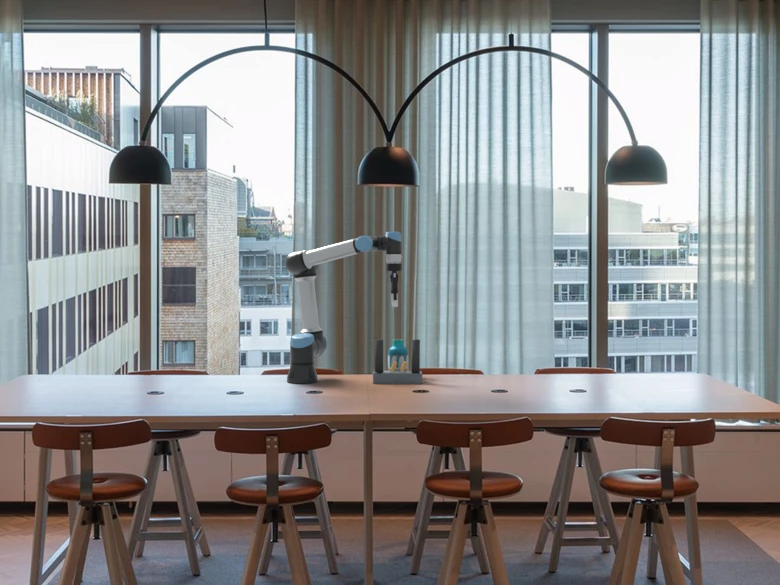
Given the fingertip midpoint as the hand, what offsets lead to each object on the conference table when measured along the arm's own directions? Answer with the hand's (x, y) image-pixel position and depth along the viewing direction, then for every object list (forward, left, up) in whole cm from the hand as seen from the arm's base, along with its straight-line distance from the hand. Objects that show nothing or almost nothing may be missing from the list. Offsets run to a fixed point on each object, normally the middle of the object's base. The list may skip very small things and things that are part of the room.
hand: (394, 306), depth 467 cm
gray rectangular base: (+1, -1, -38) cm, 38 cm away
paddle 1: (-2, -1, -32) cm, 32 cm away
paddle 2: (+3, -1, -32) cm, 32 cm away
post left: (-8, -1, -33) cm, 33 cm away
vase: (+2, +19, -38) cm, 42 cm away
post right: (+10, -1, -33) cm, 34 cm away
